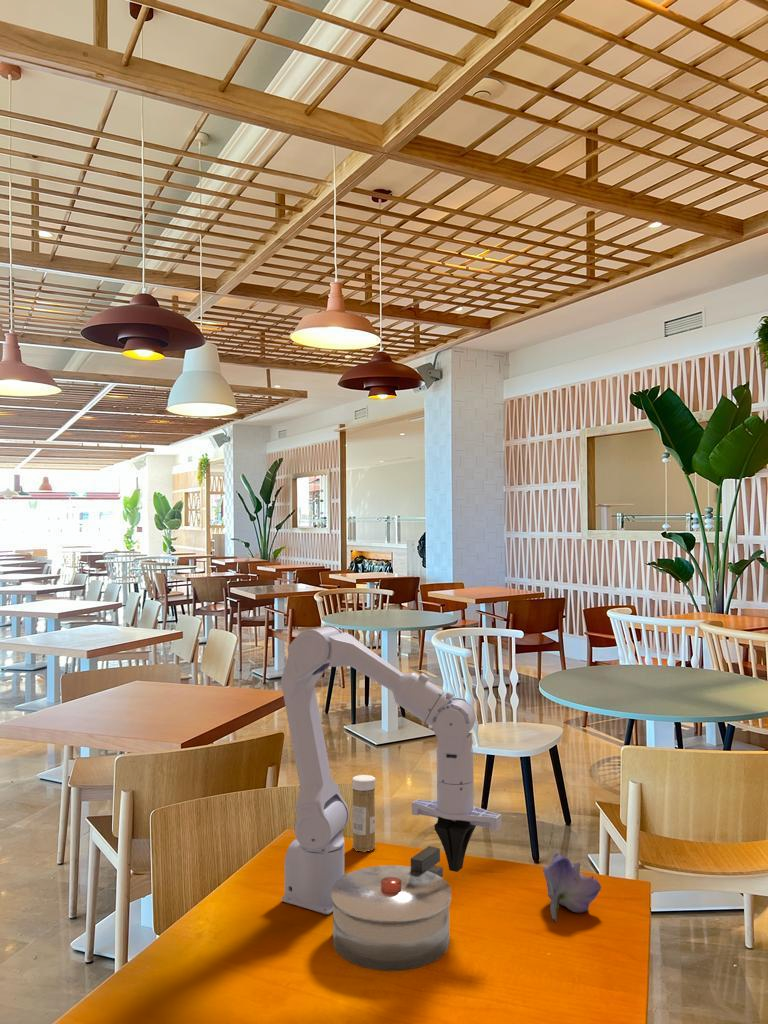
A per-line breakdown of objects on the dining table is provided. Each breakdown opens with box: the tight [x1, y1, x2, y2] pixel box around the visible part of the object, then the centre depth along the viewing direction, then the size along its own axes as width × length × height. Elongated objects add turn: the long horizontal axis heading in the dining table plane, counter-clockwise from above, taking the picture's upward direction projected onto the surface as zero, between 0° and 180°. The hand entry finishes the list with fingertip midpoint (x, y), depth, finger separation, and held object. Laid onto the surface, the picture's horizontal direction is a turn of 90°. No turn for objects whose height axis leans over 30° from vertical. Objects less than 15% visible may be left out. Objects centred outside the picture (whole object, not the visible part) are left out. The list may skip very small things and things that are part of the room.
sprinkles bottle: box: [351, 774, 377, 852], centre depth 144 cm, size 5×5×13 cm
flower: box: [542, 850, 602, 923], centre depth 117 cm, size 9×9×10 cm
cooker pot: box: [332, 864, 450, 972], centre depth 112 cm, size 23×17×6 cm
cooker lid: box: [331, 845, 452, 924], centre depth 112 cm, size 22×18×3 cm
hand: (455, 868), depth 116 cm, fingers closed
